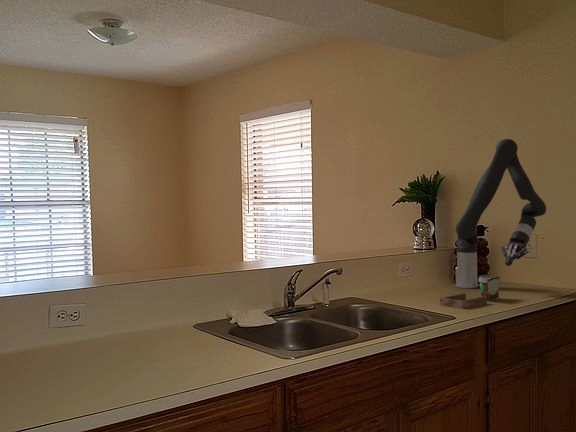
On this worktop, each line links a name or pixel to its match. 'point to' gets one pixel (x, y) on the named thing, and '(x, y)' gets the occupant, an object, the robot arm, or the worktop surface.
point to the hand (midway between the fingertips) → (507, 264)
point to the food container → (489, 286)
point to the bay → (462, 301)
